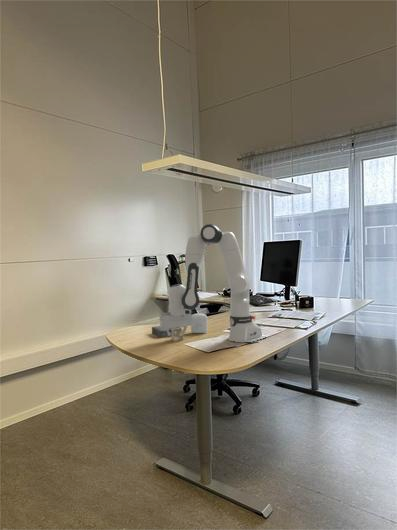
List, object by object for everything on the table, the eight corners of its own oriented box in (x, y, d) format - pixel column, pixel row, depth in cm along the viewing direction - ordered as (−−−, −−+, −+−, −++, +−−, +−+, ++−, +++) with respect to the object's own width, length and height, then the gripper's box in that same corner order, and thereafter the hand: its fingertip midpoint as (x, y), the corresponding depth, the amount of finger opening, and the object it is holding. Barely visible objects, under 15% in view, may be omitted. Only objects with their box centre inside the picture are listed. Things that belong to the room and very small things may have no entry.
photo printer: (207, 332, 228) (207, 312, 227) (207, 333, 223) (206, 314, 223) (191, 332, 229) (191, 313, 228) (191, 333, 224) (190, 314, 224)
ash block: (179, 338, 214) (178, 328, 214) (182, 339, 210) (182, 329, 209) (171, 339, 212) (171, 329, 211) (175, 341, 207) (174, 331, 207)
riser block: (171, 330, 234) (171, 324, 234) (181, 334, 222) (180, 328, 222) (152, 333, 228) (151, 327, 227) (160, 337, 215) (160, 331, 215)
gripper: (162, 314, 202) (162, 338, 203) (193, 310, 212) (194, 333, 213) (157, 312, 208) (158, 335, 209) (188, 309, 218) (189, 331, 218)
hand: (176, 334), depth 211 cm, fingers open, 8 cm apart
